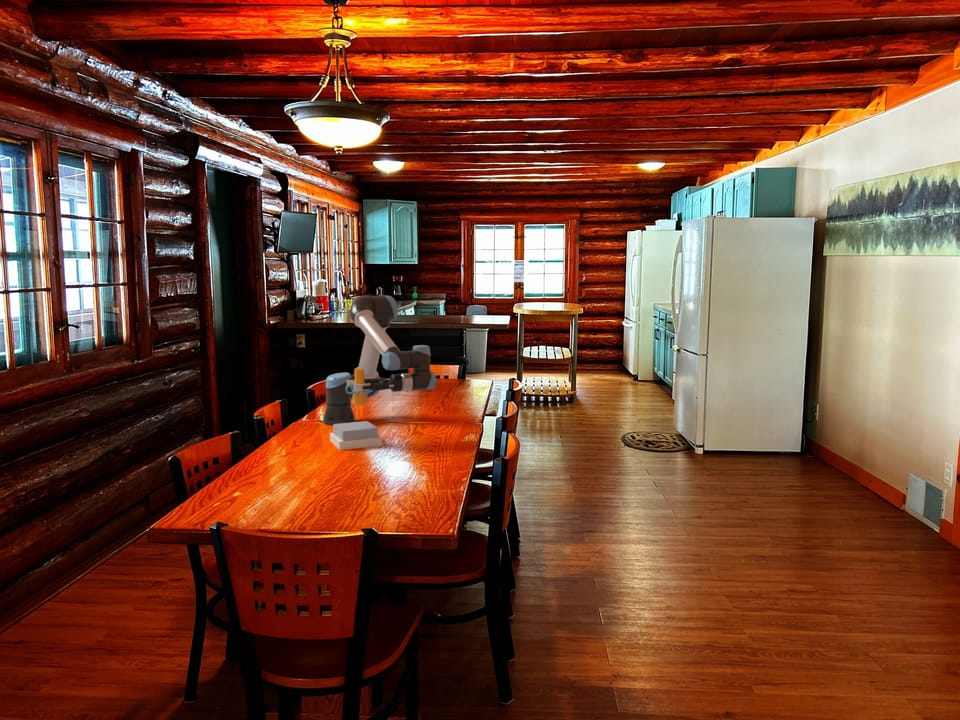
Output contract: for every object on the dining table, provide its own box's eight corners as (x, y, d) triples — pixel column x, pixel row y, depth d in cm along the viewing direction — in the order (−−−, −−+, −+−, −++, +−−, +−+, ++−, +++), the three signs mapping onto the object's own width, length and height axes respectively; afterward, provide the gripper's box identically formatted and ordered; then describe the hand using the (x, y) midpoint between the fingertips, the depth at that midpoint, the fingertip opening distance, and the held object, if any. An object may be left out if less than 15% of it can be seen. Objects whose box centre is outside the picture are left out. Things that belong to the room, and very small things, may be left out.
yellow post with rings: (367, 407, 297) (366, 371, 295) (343, 406, 299) (342, 370, 297) (376, 401, 309) (376, 367, 307) (353, 400, 311) (352, 366, 309)
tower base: (330, 442, 310) (329, 432, 310) (370, 438, 318) (370, 429, 317) (339, 451, 294) (339, 441, 293) (382, 447, 301) (382, 437, 301)
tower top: (333, 433, 308) (333, 424, 308) (367, 430, 315) (367, 421, 314) (342, 440, 295) (342, 431, 294) (378, 437, 301) (377, 427, 301)
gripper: (409, 395, 300) (358, 399, 291) (392, 387, 322) (344, 390, 313) (409, 377, 299) (357, 380, 290) (392, 370, 321) (343, 373, 312)
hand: (350, 385), depth 301 cm, fingers closed on yellow post with rings, 11 cm apart
